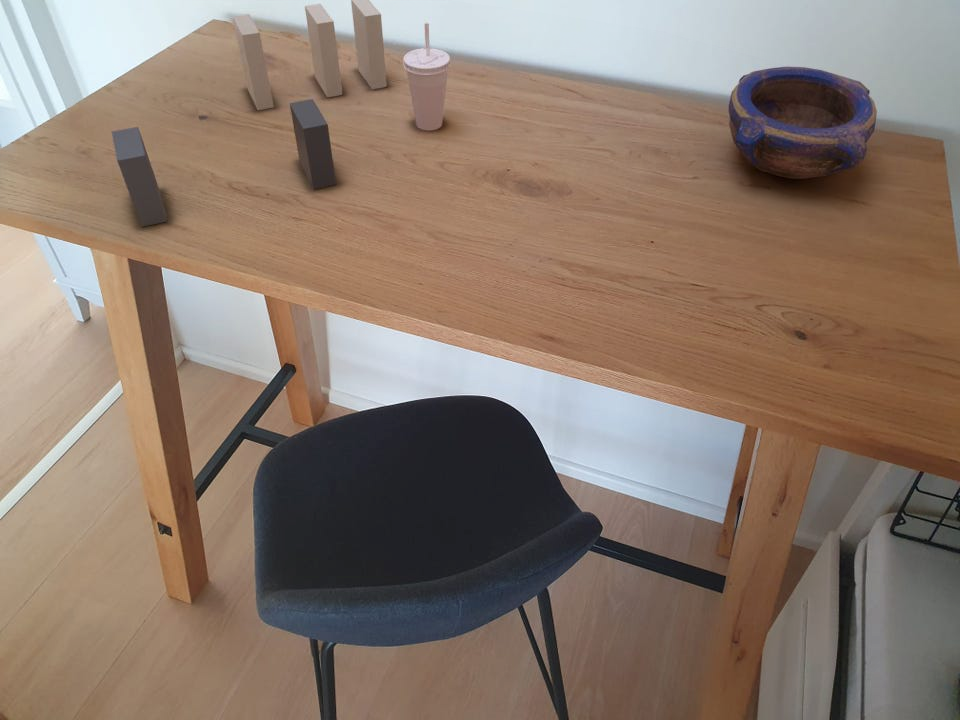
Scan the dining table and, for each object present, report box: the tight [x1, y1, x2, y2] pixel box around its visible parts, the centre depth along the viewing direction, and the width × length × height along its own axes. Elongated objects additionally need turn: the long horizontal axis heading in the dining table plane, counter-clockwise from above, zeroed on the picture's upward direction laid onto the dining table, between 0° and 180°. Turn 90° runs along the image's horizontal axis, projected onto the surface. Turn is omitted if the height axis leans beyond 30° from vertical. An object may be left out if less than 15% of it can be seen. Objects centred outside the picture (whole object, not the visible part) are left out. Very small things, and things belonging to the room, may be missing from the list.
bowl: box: [728, 66, 878, 180], centre depth 100 cm, size 18×18×10 cm
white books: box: [304, 0, 388, 98], centre depth 115 cm, size 9×7×11 cm
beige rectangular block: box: [232, 13, 275, 111], centre depth 111 cm, size 2×7×11 cm, turn 24°
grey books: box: [111, 98, 337, 228], centre depth 94 cm, size 24×7×9 cm, turn 113°
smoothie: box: [402, 22, 451, 132], centre depth 105 cm, size 6×6×14 cm
